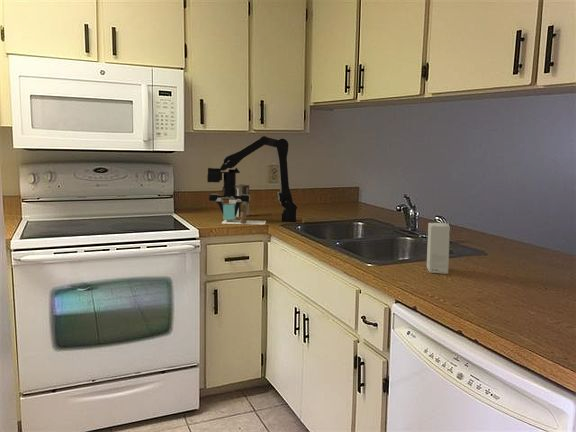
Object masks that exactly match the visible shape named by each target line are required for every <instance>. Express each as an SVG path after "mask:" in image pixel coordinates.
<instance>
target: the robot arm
mask: <svg viewBox="0 0 576 432" xmlns="http://www.w3.org/2000/svg"><path fill="white" fill-rule="evenodd" d="M263 146H268V147H272V148H274V149H275V152H276V153H275V154H276V155H277V160H278V173H279V181H280V182H279V183H280V184H279V185H280V190H279V191H277V192H276V194H277V201H278V202H279V204H280V205H281V206H282V208H283V209H282V212H281V222H283V223H297V209H298V206H297V205H296V204H295V203H294V200H293V197H292V193H291V191H290V190H291V189H290V186H289V185H290V184H289V182H290V181H289V170H288V169H289V168H288V152H289V142H288V140H286V139H285V138H278V139H276V138H272V137H268V136H265V135H262V136H260V137H259V138H258V139H256V140H254V141H253V142H252V143H249V144H248V145H247V146H245V147H244V148H241V149H240V150H238V151H235V152H232V153H231V154H229V155H226V156H225V157H224V158H223V163H222V164H221V165H220V166H219V168H218V167H207V176H206V177H207V180H206V181H207V183H209V184H211V183H215V184H217V183H221V181H223V186H222V191H221V193H222V194H223V195H221V194H219V193H210V194H209V195H208V201H209V202H215V203H216V204H218V206H219V208H220V211H221V213H222V215H223V205H224V204H225V201H224V200H228V201H229V200H237V202H236V207H235V216H236V215H237V212H238V208H239V206H240V204H241V203H243V202H249V203H250V201H251V195H250V193H249V194H242V195H241V196H237V189H236V185H237V174H240V173H241V171H240V170H239V169H238V167H236V166H237V165H238V164H239V163H240V162H242V160H243V159H244V158H246V157H247V156H249V155H251V154H252V153H254V152H255V151H257V150H258V149H260V148H262V147H263ZM234 167H235V169H233V168H234ZM226 170H228V171H226Z"/></svg>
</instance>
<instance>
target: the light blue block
mask: <svg viewBox="0 0 576 432" xmlns="http://www.w3.org/2000/svg"><path fill="white" fill-rule="evenodd" d="M235 207H236V204H229V203H224V205H223V214H222V218H223V220H226V219H233V220H236V218H237V217H236V216H235Z"/></svg>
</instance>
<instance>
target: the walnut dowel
mask: <svg viewBox="0 0 576 432" xmlns="http://www.w3.org/2000/svg"><path fill="white" fill-rule="evenodd" d="M240 220H241V224H240V225H247V224H246V220H247V215H246V212H241V217H240Z"/></svg>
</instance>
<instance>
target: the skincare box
mask: <svg viewBox="0 0 576 432" xmlns="http://www.w3.org/2000/svg"><path fill="white" fill-rule="evenodd" d="M427 227H428V228H427V244H426V245H427V250H426V268H427V270H428V272H429V273H431V274H445V275H449V260H450V259H449V258H450V237H451V236H450V232H451V226H450V225H449V224H448V223H446V222H428V224H427Z"/></svg>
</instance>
